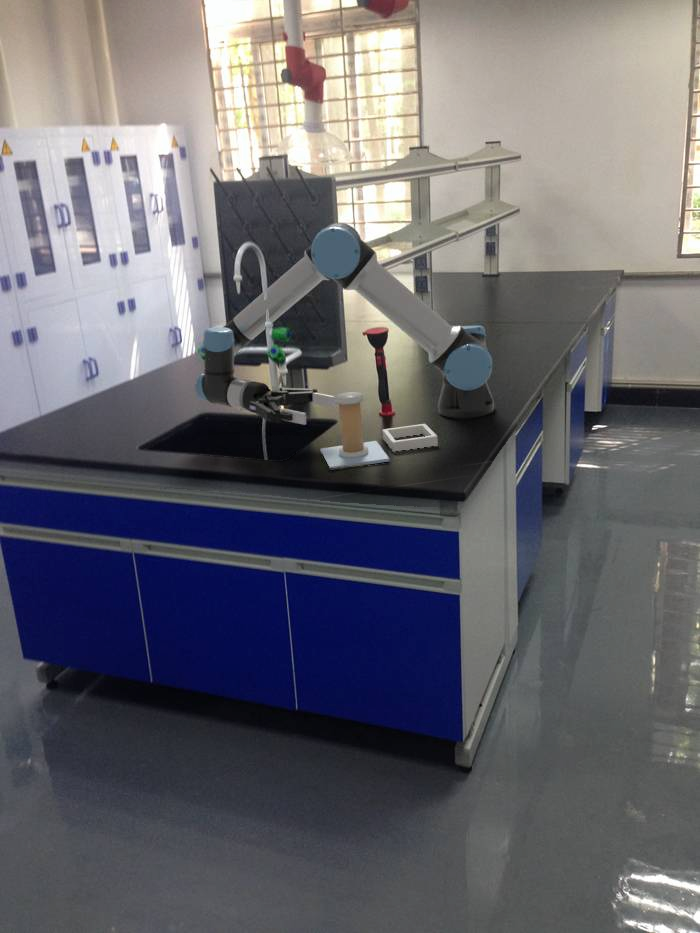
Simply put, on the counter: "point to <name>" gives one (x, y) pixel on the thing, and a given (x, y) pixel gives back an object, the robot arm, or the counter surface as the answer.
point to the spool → (351, 424)
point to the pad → (336, 460)
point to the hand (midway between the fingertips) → (321, 410)
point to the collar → (411, 443)
